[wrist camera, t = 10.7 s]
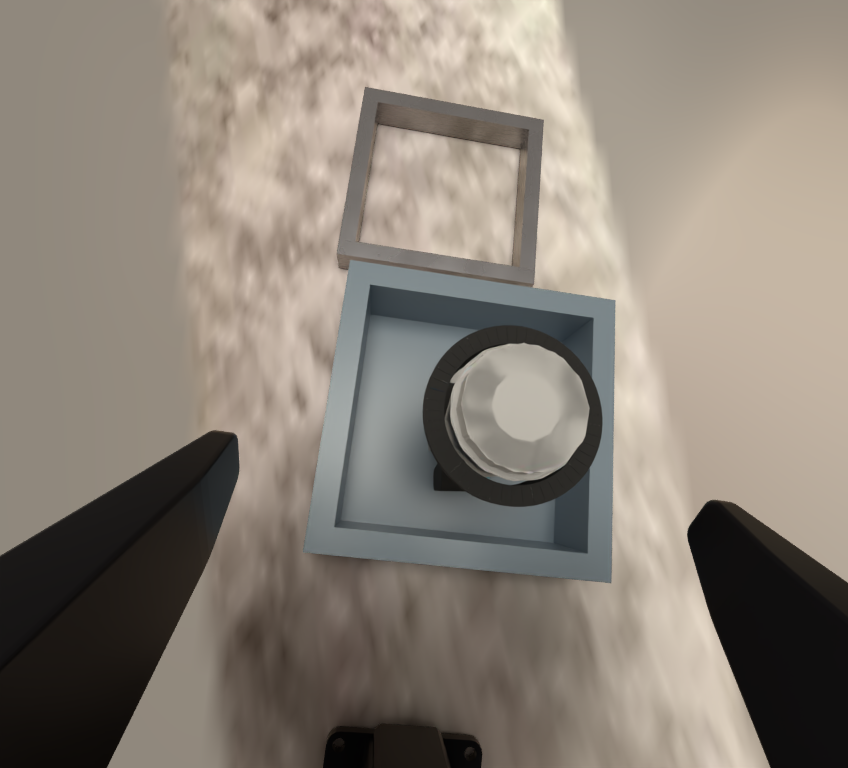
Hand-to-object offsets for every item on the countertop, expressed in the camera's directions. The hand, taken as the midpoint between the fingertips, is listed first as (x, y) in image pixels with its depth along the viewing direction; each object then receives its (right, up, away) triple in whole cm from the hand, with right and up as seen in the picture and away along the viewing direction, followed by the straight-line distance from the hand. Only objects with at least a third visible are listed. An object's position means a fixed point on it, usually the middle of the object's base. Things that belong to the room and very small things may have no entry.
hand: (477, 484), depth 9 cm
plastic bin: (+1, 0, +14) cm, 14 cm away
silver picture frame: (0, +12, +17) cm, 21 cm away
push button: (+1, 0, +14) cm, 14 cm away
